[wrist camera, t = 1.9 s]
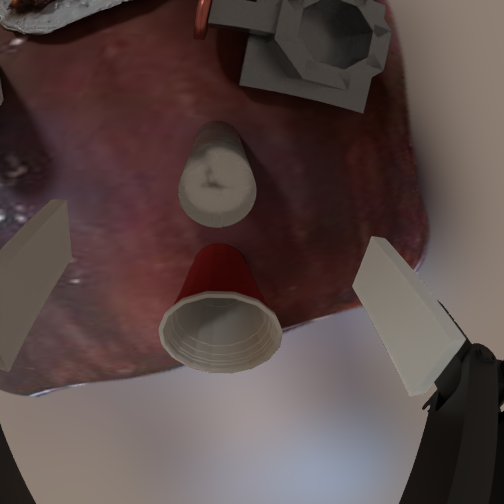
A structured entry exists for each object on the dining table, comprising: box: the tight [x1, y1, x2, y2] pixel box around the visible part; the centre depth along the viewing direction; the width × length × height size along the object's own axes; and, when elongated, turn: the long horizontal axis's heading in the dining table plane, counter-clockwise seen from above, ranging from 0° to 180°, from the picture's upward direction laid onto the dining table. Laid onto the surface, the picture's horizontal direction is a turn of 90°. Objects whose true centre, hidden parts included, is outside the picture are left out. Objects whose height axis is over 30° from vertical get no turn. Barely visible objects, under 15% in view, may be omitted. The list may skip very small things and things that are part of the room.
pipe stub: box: [178, 121, 256, 228], centre depth 24 cm, size 4×4×14 cm
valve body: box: [194, 0, 392, 113], centre depth 22 cm, size 12×16×7 cm
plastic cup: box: [158, 244, 283, 373], centre depth 32 cm, size 11×11×12 cm
